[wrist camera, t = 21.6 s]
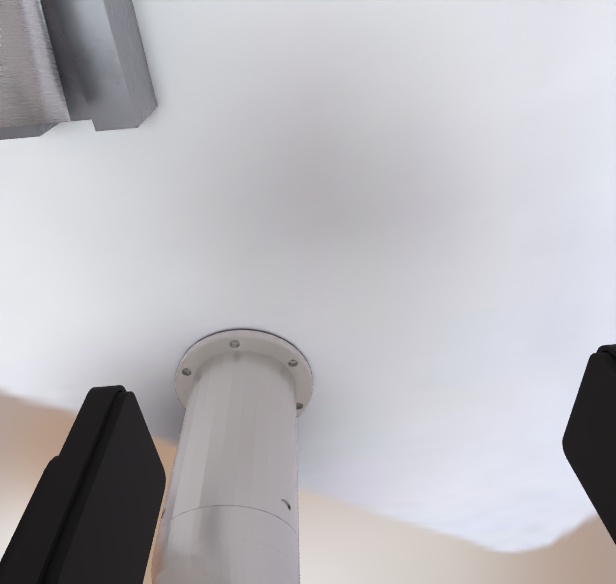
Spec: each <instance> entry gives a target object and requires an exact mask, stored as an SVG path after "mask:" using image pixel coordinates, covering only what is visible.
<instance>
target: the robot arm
mask: <svg viewBox="0 0 616 584" xmlns="http://www.w3.org/2000/svg"><path fill="white" fill-rule="evenodd" d="M312 385H313V383H312V373H311V370H310V367H309V365H308V363H307V361H306V360H305V358H304V357H303V355H302V354H301V353H300V352H299V351H298V350H297V349H296V348H295V347H294V346H292V345H291V344H289V343H288V342H286V341H284V340H283V339H280V338H278V337H276V336H273V335H271V334H267V333H263V332H259V331H250V330H231V331H226V332H221V333H217V334H214V335H211V336H209V337H206V338H204V339H202V340H201V341H199V342H197V343H196V344H194V345H193V346H192V347H191V348H190V349H189V350H188V351H187V352H186V353H185V355H184V356H183V358H182V359H181V361H180V364H179V366H178V369H177V374H176V378H175V389H176V393H177V396H178V399H179V401H180V402H181V404H182V405H183V407H184V408H185V409H186V412H185V417H184V421H183V426H182V430H181V434H180V439H179V443H178V447H177V452H176V456H175V460H174V465H173V469H172V473H171V478H170V482H169V487H168V491H167V495H166V500H165V505H164V508H163V513H162V517H161V522H160V527H159V531H158V536H157V539H156V544H155V548H154V553H153V558H152V568H151V569H152V570H151V571H152V572H151V573H152V574H151V577H152V584H300V570H299V526H298V525H299V523H298V472H297V421H296V418H297V417H298V416H299V415H300V414H301V413H302V412H303V411H304V410H305V408H306V407H307V405H308V403H309V402H310V398H311V395H312ZM562 445H563V450H564V454H565V456H566V458H567V460H568V461H569V463H570V465H571V467H572V469H573V470H574V472H575V474H576V476H577V477H578V479H579V481H580V483H581V484H582V486H583V488H584V490H585V491H586V493H587V495H588V497H589V499H590V500H591V502H592V504H593V506H594V507H595V509H596V511H597V513H598V514H599V516H600V518H601V520H602V521H603V523H604V525H605V527H606V528H607V530H608V532H609V534H610V535H611V537H612V539H613V541H614V543H615V544H616V344H613V345H603V346H601V347H599V348H598V350H597V352H596V353H593V354H592V355H591V356H590V358H589V361H588V364H587V367H586V370H585V373H584V376H583V379H582V382H581V385H580V388H579V391H578V394H577V397H576V400H575V403H574V406H573V409H572V412H571V415H570V418H569V421H568V424H567V427H566V430H565V433H564V436H563V440H562ZM165 483H166V477H165V471H164V468H163V465H162V463H161V461H160V458H159V455H158V453H157V450H156V448H155V445H154V443H153V440H152V438H151V435H150V433H149V430H148V428H147V425H146V423H145V420H144V417H143V415H142V412H141V410H140V407H139V405H138V402H137V400H136V397H135V395H134V393H133V392H132V391H131V392H126V390H125V388H124V387H123V386H122V385H117V386H104V387H93V388H92V389H90V391H89V392H88V394H87V396H86V398H85V400H84V403H83V405H82V407H81V409H80V411H79V413H78V415H77V418H76V420H75V422H74V424H73V426H72V428H71V430H70V433H69V435H68V437H67V439H66V442H65V443H64V445H63V448H62V450H61V452H60V454H59V456H55V457H54V458H53V459H52V460H51V461H50V462H49V463H48V465H47V467H46V468H45V470H44V472H43V474H42V476H41V478H40V480H39V482H38V484H37V487H36V489H35V491H34V493H33V495H32V497H31V499H30V501H29V503H28V505H27V508H26V510H25V512H24V514H23V516H22V518H21V520H20V522H19V524H18V526H17V528H16V530H15V532H14V534H13V536H12V538H11V541H10V543H9V545H8V547H7V549H6V551H5V553H4V555H3V557H2V559H1V561H0V584H143V580H144V575H145V571H146V566H147V563H148V558H149V553H150V550H151V546H152V541H153V537H154V533H155V528H156V524H157V519H158V515H159V511H160V507H161V503H162V498H163V494H164V490H165Z"/></svg>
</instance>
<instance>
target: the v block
mask: <svg viewBox="0 0 616 584" xmlns="http://www.w3.org/2000/svg"><path fill="white" fill-rule="evenodd" d="M40 1H41V5H42V9H43V13H44V17H45V21H46V25H47V29H48V33H49V37H50V41H51V45H52V49H53V53H54V57H55V61H56V65H57V69H58V73H59V77H60V81H61V85H62V89H63V93H64V97H65V101H66V105H67V109H68V113H69V117H70V121H78V120H89V119H92V121H93V124H94V127H95V131H104V130H115V129H126V128H138V127H139V125H140V124H141V123H142V122H143V121H144V120H145V119H146V118H147V117H148V116H149V115H150V114H151V112H152V111H153V110H154V109H155V108H156V107H157V103H156V99H155V95H154V91H153V86H152V82H151V78H150V74H149V70H148V66H147V62H146V58H145V53H144V49H143V45H142V41H141V37H140V33H139V29H138V25H137V20H136V16H135V12H134V8H133V4H132V0H40ZM66 122H67V121H66ZM58 123H60V122H55V123H45V124H34V125H23V126H12V127H1V128H0V140H4V139H15V138H26V137H37V136H41V135H43V134H44V133H45V132H47V131H48V130H50V129H51V128H53V127H54V126H56V125H57V124H58Z"/></svg>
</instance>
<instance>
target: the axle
mask: <svg viewBox="0 0 616 584" xmlns="http://www.w3.org/2000/svg"><path fill="white" fill-rule="evenodd" d="M66 121H70V117H69V113H68V109H67V105H66V101H65V97H64V93H63V89H62V85H61V81H60V77H59V73H58V69H57V65H56V61H55V57H54V53H53V49H52V45H51V41H50V37H49V33H48V29H47V25H46V21H45V17H44V13H43V9H42V5H41V1H40V0H0V128H1V127H12V126H23V125H34V124H45V123H55V122H66Z"/></svg>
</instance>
